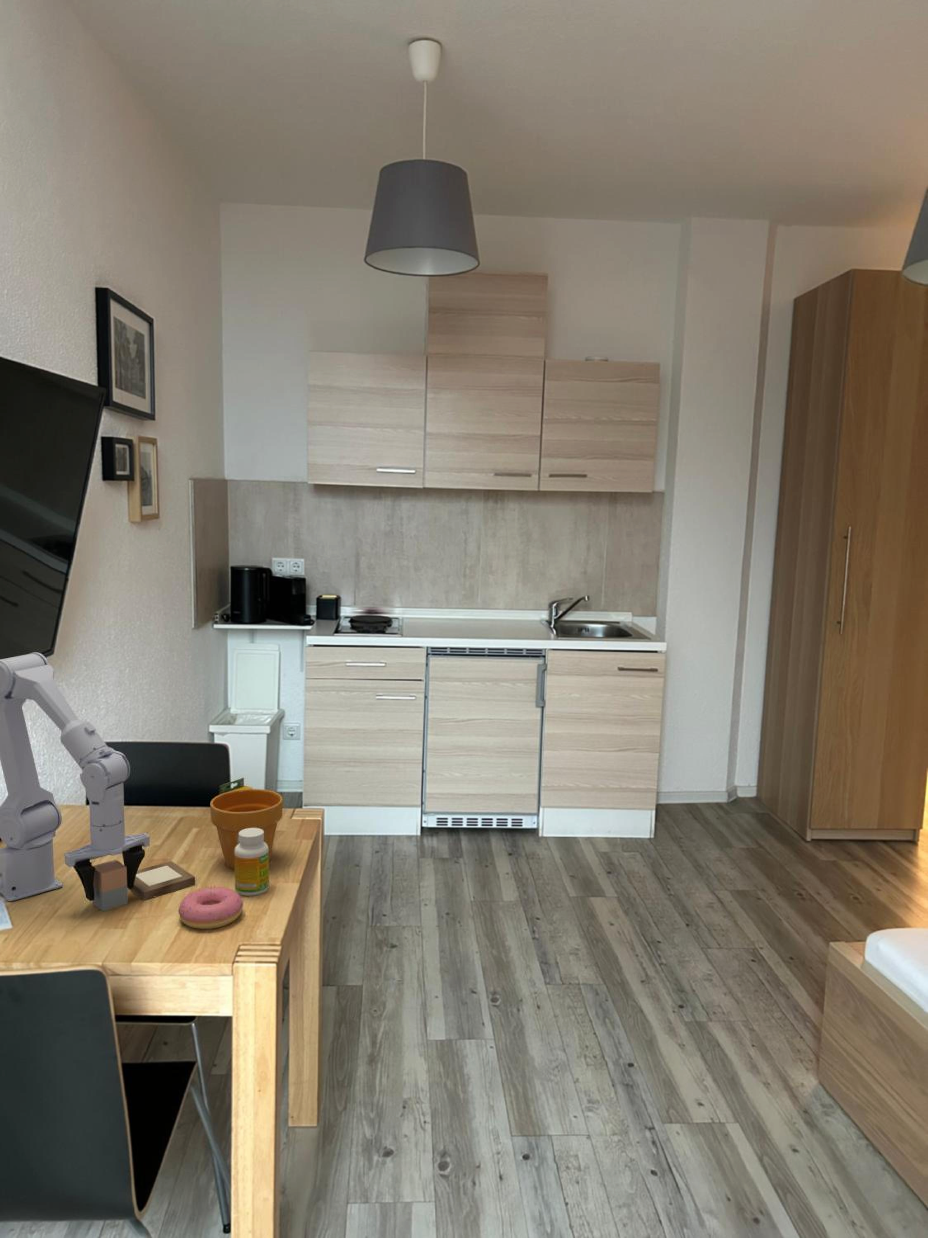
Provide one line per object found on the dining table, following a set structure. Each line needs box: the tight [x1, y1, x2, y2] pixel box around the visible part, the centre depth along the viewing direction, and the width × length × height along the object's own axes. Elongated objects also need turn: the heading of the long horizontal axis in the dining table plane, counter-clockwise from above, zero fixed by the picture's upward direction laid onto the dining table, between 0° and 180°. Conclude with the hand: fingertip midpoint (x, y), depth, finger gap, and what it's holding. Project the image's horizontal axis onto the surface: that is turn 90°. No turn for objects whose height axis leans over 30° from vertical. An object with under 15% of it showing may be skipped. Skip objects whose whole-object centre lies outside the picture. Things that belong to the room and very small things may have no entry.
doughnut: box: [177, 885, 244, 930], centre depth 152 cm, size 11×11×4 cm
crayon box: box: [219, 777, 254, 795], centre depth 190 cm, size 7×3×12 cm, turn 148°
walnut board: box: [130, 860, 196, 901], centre depth 165 cm, size 10×10×2 cm
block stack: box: [92, 859, 129, 912], centre depth 156 cm, size 4×4×7 cm
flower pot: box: [209, 788, 284, 870], centre depth 175 cm, size 14×14×13 cm
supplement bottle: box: [234, 828, 270, 897], centre depth 162 cm, size 6×6×11 cm
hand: (109, 893), depth 156 cm, fingers open, 6 cm apart
